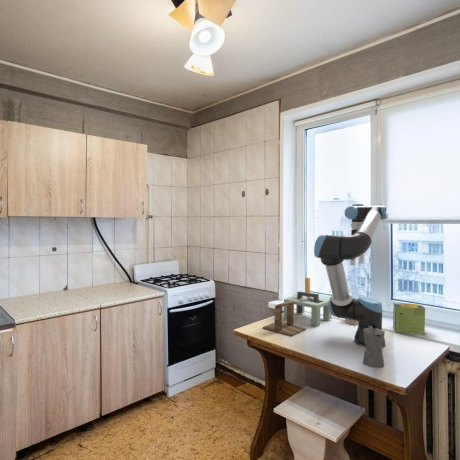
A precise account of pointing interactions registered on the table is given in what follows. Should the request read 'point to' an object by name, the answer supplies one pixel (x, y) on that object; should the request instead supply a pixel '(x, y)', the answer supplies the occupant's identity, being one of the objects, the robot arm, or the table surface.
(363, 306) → the robot arm
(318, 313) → the pale green table
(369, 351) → the coffeepot
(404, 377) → the table surface
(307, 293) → the dark grey arch
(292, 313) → the walnut rack
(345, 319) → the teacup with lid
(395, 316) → the protein box
